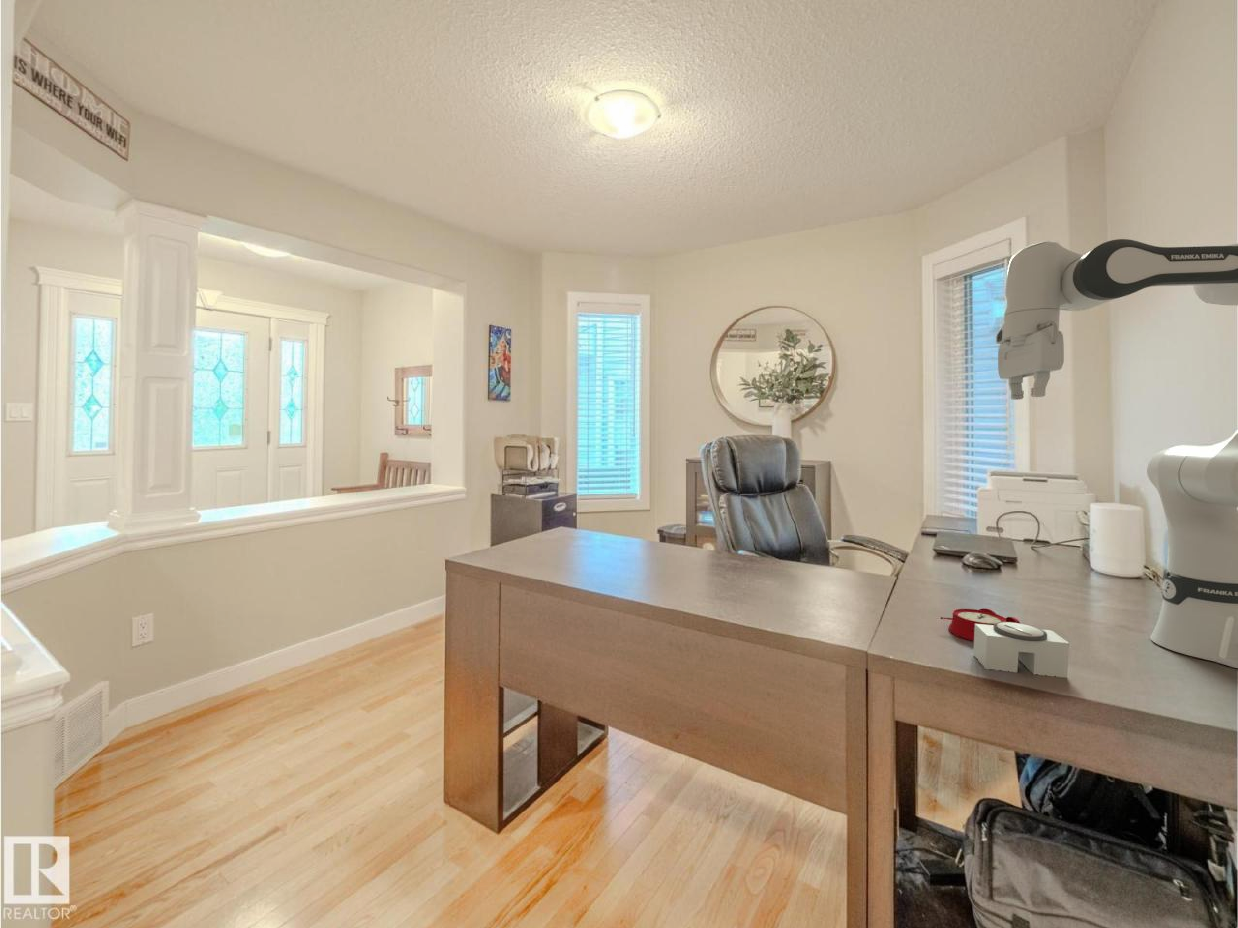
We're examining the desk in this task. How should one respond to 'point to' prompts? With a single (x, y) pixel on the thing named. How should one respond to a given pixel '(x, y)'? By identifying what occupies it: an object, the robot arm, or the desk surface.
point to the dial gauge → (1021, 648)
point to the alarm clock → (973, 621)
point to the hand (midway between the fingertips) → (1027, 398)
